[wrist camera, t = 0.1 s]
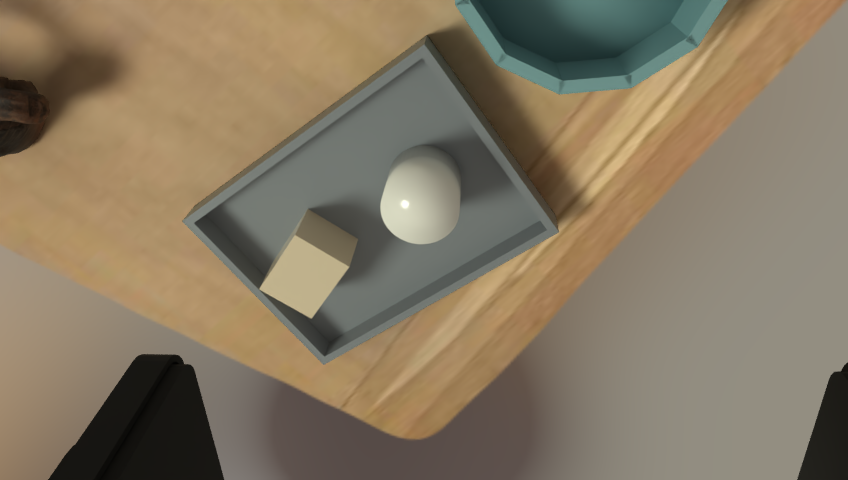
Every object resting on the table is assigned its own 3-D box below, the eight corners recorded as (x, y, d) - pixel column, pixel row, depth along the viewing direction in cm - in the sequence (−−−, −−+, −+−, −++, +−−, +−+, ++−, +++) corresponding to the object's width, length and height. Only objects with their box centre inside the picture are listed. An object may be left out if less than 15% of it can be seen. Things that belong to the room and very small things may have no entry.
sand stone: (273, 260, 53) (259, 289, 49) (307, 208, 50) (295, 235, 47) (322, 288, 54) (311, 318, 50) (358, 239, 51) (349, 266, 48)
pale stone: (374, 170, 48) (364, 200, 44) (433, 131, 47) (428, 158, 42) (417, 223, 50) (411, 257, 46) (475, 187, 48) (475, 219, 44)
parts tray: (194, 205, 52) (182, 221, 49) (427, 35, 44) (424, 44, 42) (329, 345, 57) (323, 364, 55) (555, 215, 50) (558, 232, 48)
